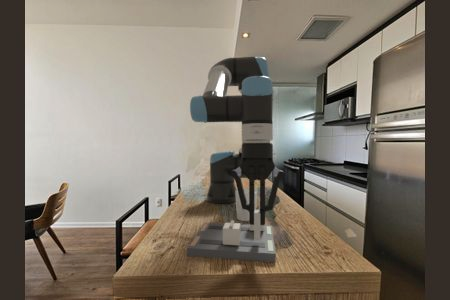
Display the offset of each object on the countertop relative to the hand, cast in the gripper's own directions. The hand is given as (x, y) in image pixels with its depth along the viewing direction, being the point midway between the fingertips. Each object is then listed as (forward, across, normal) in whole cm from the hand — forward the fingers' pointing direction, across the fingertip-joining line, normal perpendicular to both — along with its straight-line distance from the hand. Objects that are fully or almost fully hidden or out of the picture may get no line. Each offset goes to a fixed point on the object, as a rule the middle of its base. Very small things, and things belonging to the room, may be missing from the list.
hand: (257, 237), depth 57 cm
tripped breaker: (+1, -6, 0) cm, 6 cm away
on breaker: (+1, 0, +10) cm, 10 cm away
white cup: (+4, -4, +26) cm, 27 cm away
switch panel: (+4, -6, +5) cm, 9 cm away
